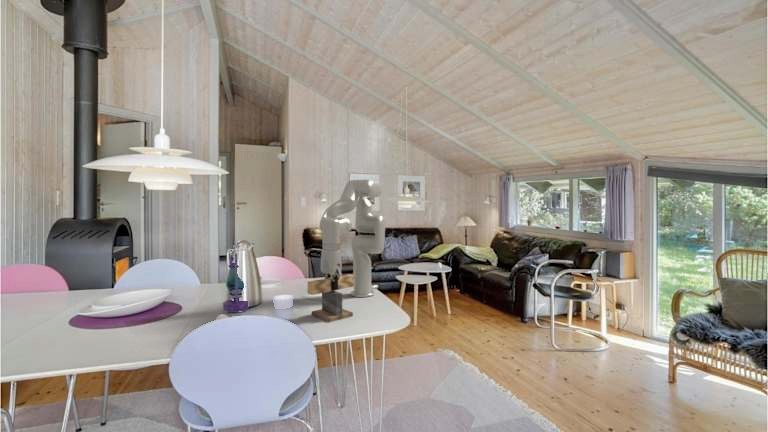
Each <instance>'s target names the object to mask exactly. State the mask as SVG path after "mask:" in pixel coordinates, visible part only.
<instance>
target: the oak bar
mask: <svg viewBox="0 0 768 432" xmlns="http://www.w3.org/2000/svg"><path fill="white" fill-rule="evenodd" d="M331 281H332V277H331V278H326V279H325V278H322V279H316V280H311V281H307V295H310V296H315V295H320V294H322V293H325V292H330V291H332V290H331ZM352 287H354V275H353V274H344V275H343V274H342V276H341V277H340V278H339V280H338V290H337V291H340V290H343V289H348V288H349V289H350V288H352ZM333 291H336V290H333Z"/></svg>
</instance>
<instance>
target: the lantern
mask: <svg viewBox="0 0 768 432" xmlns="http://www.w3.org/2000/svg"><path fill="white" fill-rule="evenodd" d="M236 245H237V244H235V245H232V246H230V247H229V248H228V249H229V250H230V257H229V264H230V265H229V264H228V268H229V271H228V273H227V279H226V284H225V286H226V288H227V290H228V292H229V296H228V297H229V298H230V299H234V301H232V300H229V299H227V300H225V301H223V304H222V308H223V311H224V310H225V311H224V312H226V311H227V312H226V313H228V312H239V311H243V312H245V311H244V310H246V311H248V310H249V309H248V301H239V298H243V297H242V293H241V292H242V290H243V288H244V283H243V281H241V279H240V278H239V277H238V274H237V268H238V267H239V266H238V265H237V253H235V263H232V261H233V259H234V258H233V257H232V255H231V254H232V253H231V251H232V250H231V249H235V247H236V248H237V246H238V245H237V246H236ZM232 247H233V248H232ZM230 248H231V249H230ZM244 289H245V288H244ZM243 291H244V290H243ZM247 309H248V310H247ZM239 313H240V312H239Z"/></svg>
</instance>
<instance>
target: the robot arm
mask: <svg viewBox="0 0 768 432" xmlns="http://www.w3.org/2000/svg"><path fill="white" fill-rule="evenodd" d="M382 192H383V187H382V184H381V182H380V181H378V180H373V179H351V180H348V182H347V183H346V184H345V187H344V189H343V190H342V193H341V196H340V197H339V199H338V200H337V201H335V202H334V203H332V204H330V205H329V206H327V208H325V210H324V212H323V214H322V216H321V218H320V221H319V230H320V232H322V235H321V236H322V250H321V254H320V272H322V274H323V276H324V279H326V278H332V281H331V290H332V291H333V290H335V291H339V290H338V280H339V278H340V277H341V276H343V273H342V270H343V266H342V263H343V262H342V254H341V235H347V234H349V233H350V232H351V230H352V228H353V227H352V221H351V220H350V219H349V218H348V217H339V216H341V215H345V214H348V213H350V212H352V211H354V210H355V222H354V224H355V225H354V226H355V230H356V231H357V232H358V233H367V235H366V234H358V235H354V237H352V239H351V243H350V244H351V250H352V252H351V253H352V264H353V265H352V267H353V268H352V269H353V271H352V275H354V287H353V288H352V289H353V290H352V291H350V296H352V297H356V298H368V297H373V296H374V295H375V291H374V290H376V289H378V288H379V285H377V284H375V285H374V284H372V260H371V258H370V256H369V255H370V254H372V255H373V254H374V255H375V254H376V255H377V254H378V255H379V254H382V253H383V252H384V250H385V239H386V238H385V237H386V236H385V235H386V219H385V218H384V217H383V215H381V214H373V204H372V203H371V201H370V200H369V199H368V198H380V196H381V195H382ZM368 233H369V235H368ZM370 234H371V235H370ZM372 234H374V235H372ZM368 254H369V255H368Z"/></svg>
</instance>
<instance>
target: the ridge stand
mask: <svg viewBox="0 0 768 432" xmlns="http://www.w3.org/2000/svg"><path fill="white" fill-rule="evenodd" d="M311 315H312V316H313V317H316V318H318V319H321V320H324V321H326V322H329V323H333V322H336V321H339V320H340V321H341V320H343V319H347V318H350V317H353V316H354V312H352V311H349V310H347V309H344V308H343V292H340V291H337V290H335V291H330V292H325V293H321V308H320V309H316V310H313V311H311Z"/></svg>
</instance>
